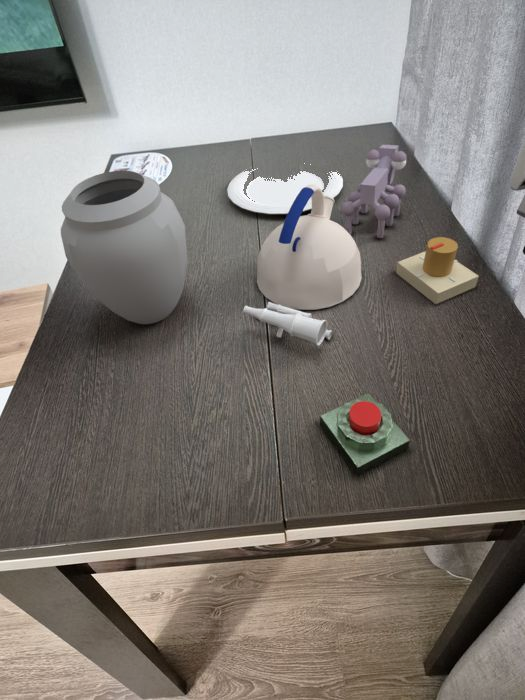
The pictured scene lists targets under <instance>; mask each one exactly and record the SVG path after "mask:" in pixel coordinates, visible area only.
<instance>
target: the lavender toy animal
mask: <svg viewBox="0 0 525 700" xmlns="http://www.w3.org/2000/svg"><path fill="white" fill-rule="evenodd" d="M399 146H400V145H398V144H397V145H396V144H381V145H380V146H379V147H378V150H376V149H370V150H369V151H368V152H367V154H366V155H365V156H366V157H365V158H366V159H365V164H366V166H367V167H368V169H372V170H371V171H370V172H369V173H368V175H366V177H365V178H364V179H363V180H362V181H361V182H360V183H359V184H358V186H357V188H356V190H355V191H352V192H351V193H350V194H349V195H348V198H347V201H344V202H343V203H342V204H341V206H340V212H341V214H342V215H343V216H344V229H345V230H346V231H347V232H348V233H349V234H350V235H352V234H353V230H352V229H353V228H352V225H358V224H359V221H360V219H359V207H360V213H361V214H366V213H368V206H370V207H372V209H373V210H374V216H375V218H376V219H377V229H376V237H377V238H379V239H382V238H384V234H385V225H386V226H387V227H392V226H393V224H394V217H398V216H400V212H401V211H400V210H401V203H402V202H401V201H402V198H404V197H405V196H406V194H407V190H406V186H404V185H403V184H400V183H399V184H395V185H394V186H393V185H392V183H393V182H394V178H395V173H396V172H395V171H401V170H402V169H403V168H404V167H406V165H407V154H406V153H405V152H404V151H403V150H399ZM388 193H389V194H388ZM380 199H381V200H383V204H380V203H379V202H378V201H379V200H380Z"/></svg>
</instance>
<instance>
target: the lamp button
mask: <svg viewBox="0 0 525 700" xmlns="http://www.w3.org/2000/svg"><path fill="white" fill-rule="evenodd" d="M380 422H381V411H380V409H379V408H378V407H377V406H376V405H375V404H373V403H371V402H367V401H361V402H357V403H355V404H354V405H353V406H352V407H351V408H350V412H349V424H350V426H351V428H352V429H353V430H354V431H356V432H358V433H360V434H372V433H374V432H375V431H377V430H378V428H379V426H380Z"/></svg>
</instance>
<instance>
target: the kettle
mask: <svg viewBox="0 0 525 700" xmlns="http://www.w3.org/2000/svg"><path fill="white" fill-rule="evenodd" d="M310 197H311V199H312V209H311V211H310V213H308V214H307V215H305V214H304V215H302V213H303V212H302V211H303V209H304V207H305V206H306V204H307V202H308V200H309V199H310ZM335 203H336V201H335V198H334V199H333V198H332V197H329V196H326V195H323V192H322V190H321V188H319V187H318V186H316V185H313V184H311V185H307V186H306V187H304V188H303V189H302V190H301V191H300V193H299V194H298V195H297V197H296V199H295V200H294V202H293V204H292V206H291V208H290V210H289V212H288V214H286V216H285V219H284V222H283V223H280V224H279V225H278V226H277V227H275V228H274V229H273V230H272V231H271V232H270V234H269V235H268V236H267V237H266V239H265V240H264V241H263V242H262V245H261V247H260V250H259V252H258V255H257V261H256V284H257V286H258V289H259V291H260V292H261V294H262V295H263V296H264V297H265V298H266V299H268V300H269V301H270V302H272V303H274V304H277V305H279V304H280V305H281V306H284V307H287V308H291V309H294V310H298V311H314V310H321V309H325V308H327V309H328V308H331V307H333V306H335V305H337V304H341V303H343V302H344V301H346V300H347V299H349V298H351V296H353V295H354V294H355V292H356V291H357V290H358V289H359V288H360V285H361V282H362V279H363V277H362V261H361V260H362V259H361V252H360V250H359V248H358V245H357V243H356V241H355V240H354V238H353V236H352V234H349V233H348V232H347V231H346V230H345V227H343V226H342V225H340V224H339V223H337V222H335V221H333V220H331V216H332V211H333V207H334V204H335Z"/></svg>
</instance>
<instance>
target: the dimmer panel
mask: <svg viewBox="0 0 525 700" xmlns="http://www.w3.org/2000/svg"><path fill="white" fill-rule="evenodd" d="M425 253H426V250H425V251H422V252H419V253H417V254H415V255H414V254H413V255H412V256H410V257H407V258H404V259H402V260H399V261H397V262H396V269H395V274H397V275H398V276H399V277H400V278H402V279H403V280H404V281H405V282H406V283H408V284H409V285H410V286H411V287H413V288H414V289H415V290H416V291H418V292H420V294H422V295H423V296H424V297H426V298H427V299H428V300H429V301H430V302H432V303H433V304H434V305H437V304H440V303H442V302H445V301H447V300H449V299H451V298H454V297H456V296H458V295H461V294H463V293H465V292H468V291H470V290H472V289H475V288H476V286H477V283H478V280H479V277H480V276H479V275H478V274H477V273H475V272H474V271H472V270H471V269H469V268H468V267H466V266H464V265H463V264H462V263H461V262H459V260H458V259H455V260H454V264H453V267H452V271H451V273H450V274H448V275H446V276H442V277H436V276H431V275H429V274H427V273H426V272H425V271H424V270H423V263H424V258H425Z"/></svg>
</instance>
